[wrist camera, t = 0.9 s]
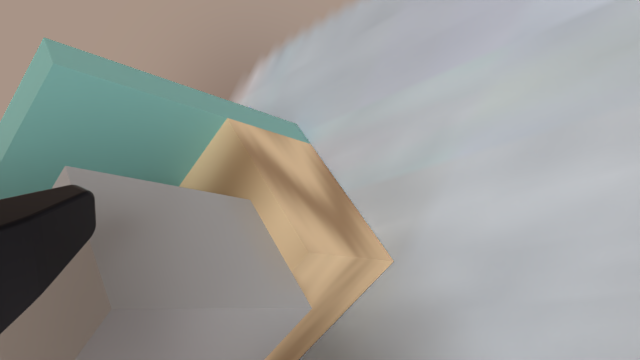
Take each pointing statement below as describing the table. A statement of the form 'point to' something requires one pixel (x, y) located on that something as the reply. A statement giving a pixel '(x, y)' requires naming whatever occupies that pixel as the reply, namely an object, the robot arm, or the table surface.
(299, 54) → the table surface
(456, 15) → the table surface
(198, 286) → the grey rectangular block
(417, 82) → the table surface
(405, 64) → the table surface
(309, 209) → the tan wooden block
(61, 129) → the end block
